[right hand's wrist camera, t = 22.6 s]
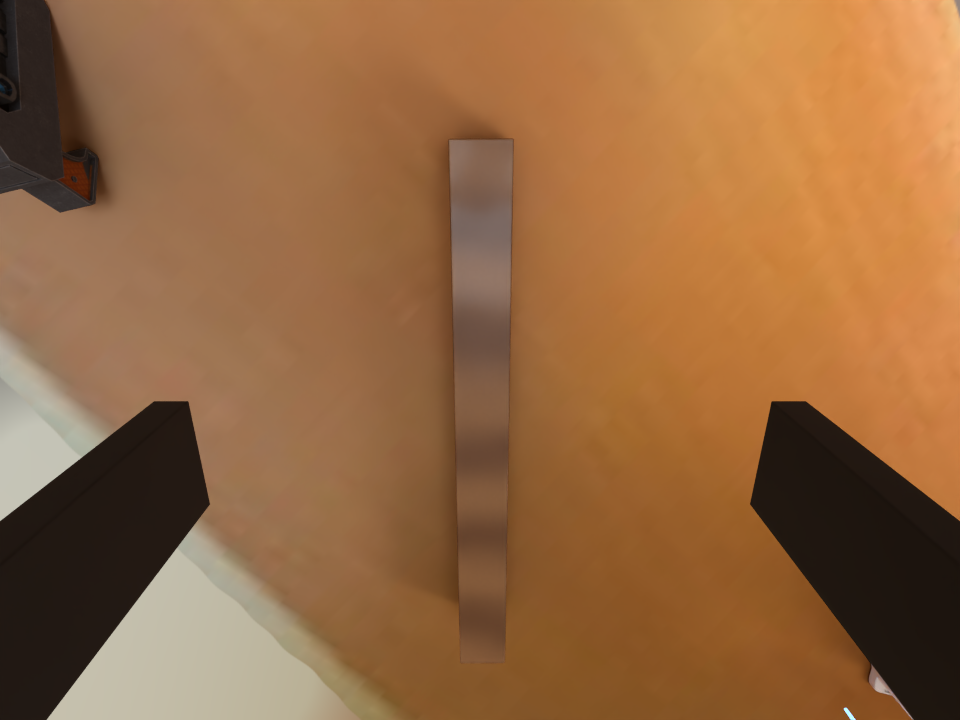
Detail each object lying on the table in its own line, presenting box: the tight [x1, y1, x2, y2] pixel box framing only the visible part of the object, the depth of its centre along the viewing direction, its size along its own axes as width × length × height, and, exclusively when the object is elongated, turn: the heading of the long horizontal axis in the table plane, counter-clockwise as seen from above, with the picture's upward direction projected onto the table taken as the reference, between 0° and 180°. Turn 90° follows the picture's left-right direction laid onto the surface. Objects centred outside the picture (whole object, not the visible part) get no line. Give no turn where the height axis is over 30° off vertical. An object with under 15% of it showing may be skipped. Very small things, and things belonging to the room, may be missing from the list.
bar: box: [448, 139, 514, 663], centre depth 54 cm, size 53×5×8 cm, turn 0°
